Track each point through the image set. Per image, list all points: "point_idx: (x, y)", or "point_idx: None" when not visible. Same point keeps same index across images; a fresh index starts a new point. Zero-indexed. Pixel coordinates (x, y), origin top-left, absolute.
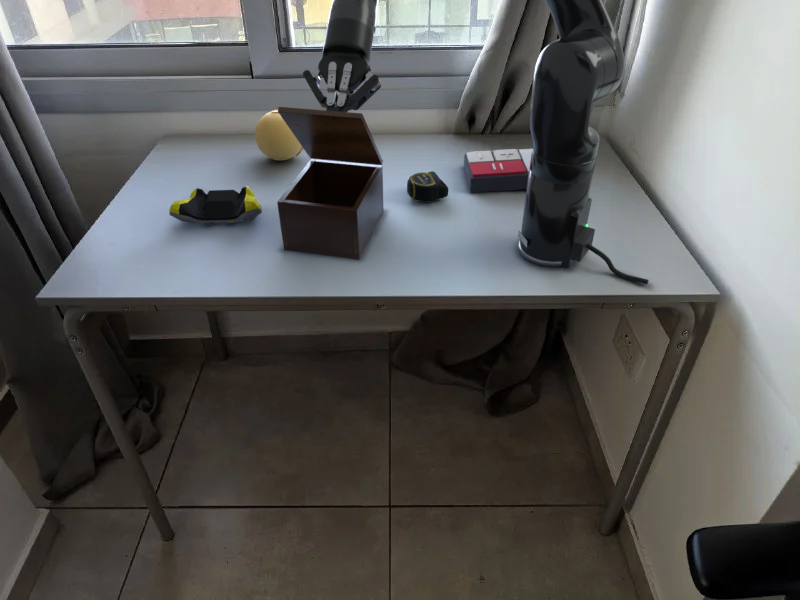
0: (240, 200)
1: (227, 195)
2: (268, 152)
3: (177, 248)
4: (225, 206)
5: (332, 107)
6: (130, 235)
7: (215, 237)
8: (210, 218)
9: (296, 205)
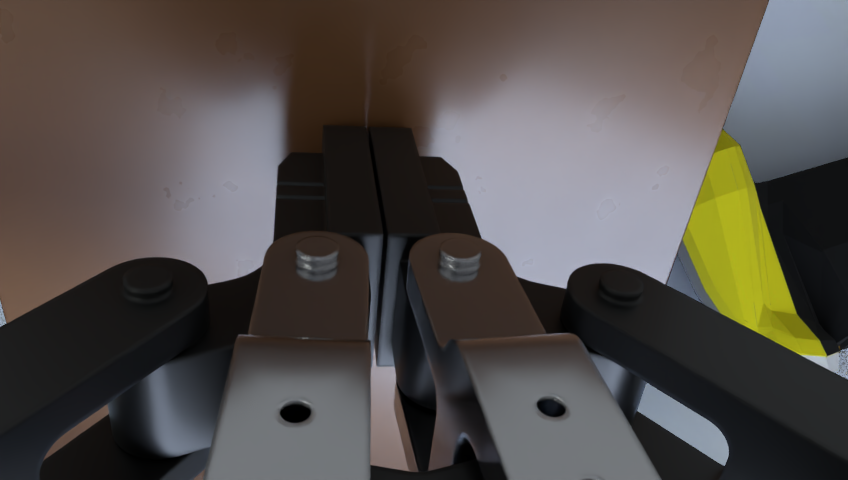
0: (795, 282)
1: None
2: None
3: (838, 29)
4: (824, 218)
5: (412, 233)
6: None
7: (760, 115)
8: (835, 161)
9: None
